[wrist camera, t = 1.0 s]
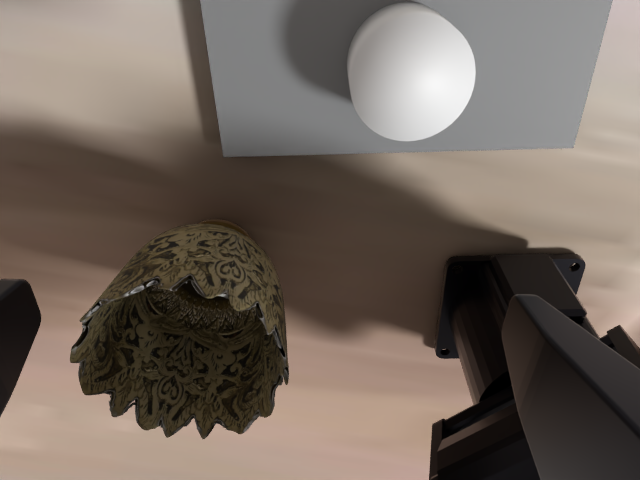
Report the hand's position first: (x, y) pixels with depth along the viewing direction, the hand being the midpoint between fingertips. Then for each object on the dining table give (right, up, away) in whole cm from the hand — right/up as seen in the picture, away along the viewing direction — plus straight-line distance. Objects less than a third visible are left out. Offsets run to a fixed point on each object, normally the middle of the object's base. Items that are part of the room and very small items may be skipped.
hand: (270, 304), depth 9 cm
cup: (-4, +1, +15) cm, 15 cm away
